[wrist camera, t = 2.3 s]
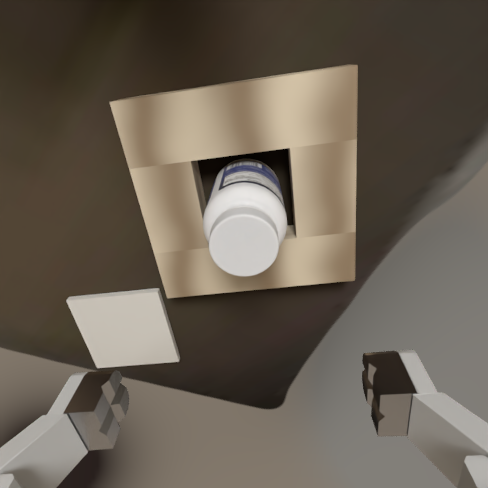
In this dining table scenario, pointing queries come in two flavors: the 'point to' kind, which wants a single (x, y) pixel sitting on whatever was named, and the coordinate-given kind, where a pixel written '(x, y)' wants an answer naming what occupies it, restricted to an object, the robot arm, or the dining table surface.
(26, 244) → the dining table surface
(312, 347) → the dining table surface
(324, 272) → the socket block
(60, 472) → the robot arm
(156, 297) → the pad
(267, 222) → the pill bottle
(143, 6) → the dining table surface
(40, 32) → the dining table surface
